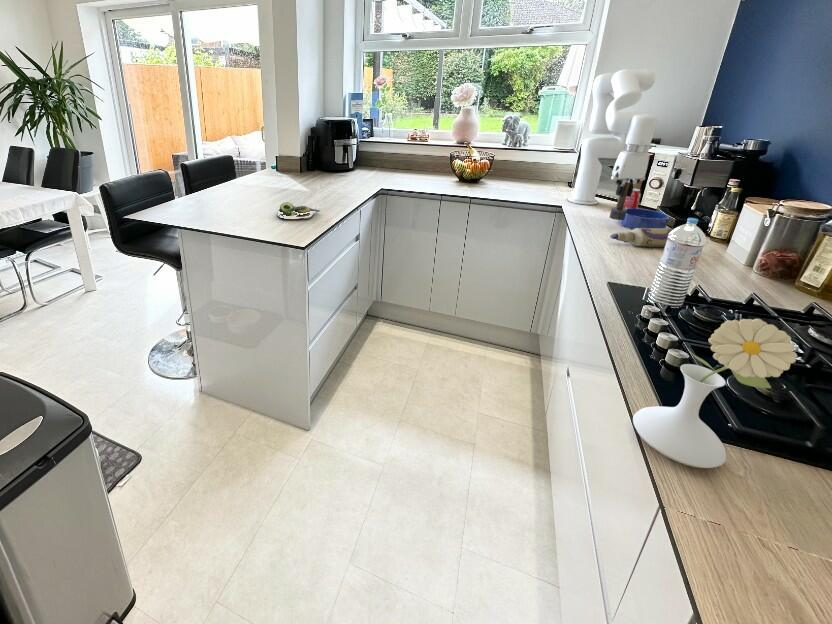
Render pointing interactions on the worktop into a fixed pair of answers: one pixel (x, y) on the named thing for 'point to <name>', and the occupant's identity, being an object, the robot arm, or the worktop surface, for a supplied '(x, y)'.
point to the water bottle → (677, 265)
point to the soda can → (633, 199)
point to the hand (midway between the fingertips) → (623, 195)
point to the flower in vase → (750, 363)
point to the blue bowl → (644, 219)
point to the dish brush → (620, 205)
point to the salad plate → (289, 208)
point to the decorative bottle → (644, 237)
